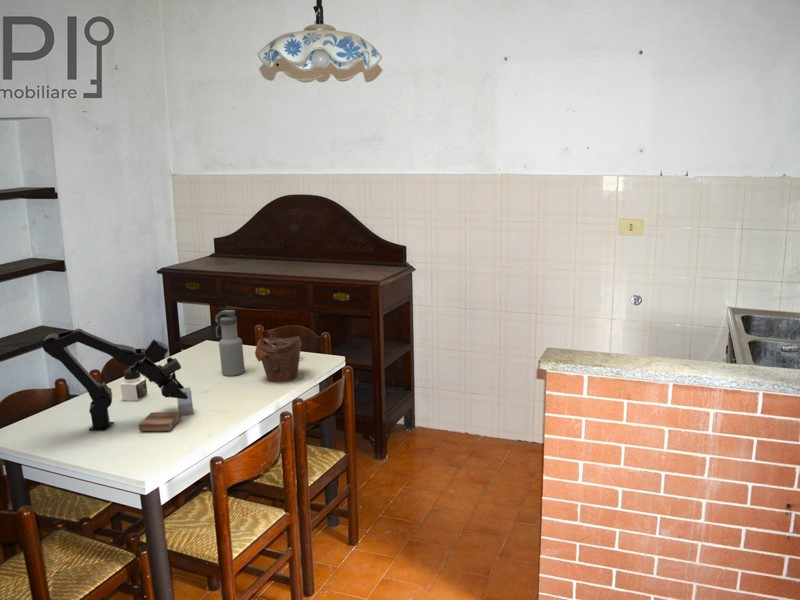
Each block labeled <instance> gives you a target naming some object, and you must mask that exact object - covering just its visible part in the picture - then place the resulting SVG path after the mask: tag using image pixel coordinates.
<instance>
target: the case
mask: <svg viewBox="0 0 800 600" xmlns="http://www.w3.org/2000/svg"><path fill="white" fill-rule="evenodd" d="M255 347H256V348H255V351H254V354H255V357H256V359H257V361H258V362H262V366H263V370H264V372H265V376H266V379H267V380H268V381H270V382H276V383H277V382H280V383H281V382H289V381H292V380H294V379H296V378H297V377H298V373H299V364H300V359H301V358H300V356H301V350H302V341H301V338H300V336H291V337H285V338H282V337H263V338H260V339H259V340H258V341H257V344H256V346H255Z"/></svg>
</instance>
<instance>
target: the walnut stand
mask: <svg viewBox="0 0 800 600" xmlns="http://www.w3.org/2000/svg"><path fill="white" fill-rule="evenodd" d="M181 419H182V416H181V413H180V412H179V411H169V412H168V411H167V412H166V411H163V412H162V411H161V412H157V411H156V412H154V411H153V412H150V413H149V414H148V415H147V416H146V417H145V418H144V419H143V420H142V421H141V422H139V424H138V430H139V432H168V431H171V430H172V429H173V427H175V426H176V424H177V423H178V422H179V421H180V420H181Z"/></svg>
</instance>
